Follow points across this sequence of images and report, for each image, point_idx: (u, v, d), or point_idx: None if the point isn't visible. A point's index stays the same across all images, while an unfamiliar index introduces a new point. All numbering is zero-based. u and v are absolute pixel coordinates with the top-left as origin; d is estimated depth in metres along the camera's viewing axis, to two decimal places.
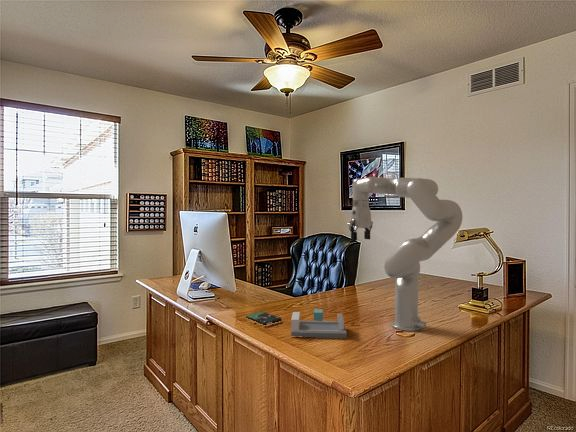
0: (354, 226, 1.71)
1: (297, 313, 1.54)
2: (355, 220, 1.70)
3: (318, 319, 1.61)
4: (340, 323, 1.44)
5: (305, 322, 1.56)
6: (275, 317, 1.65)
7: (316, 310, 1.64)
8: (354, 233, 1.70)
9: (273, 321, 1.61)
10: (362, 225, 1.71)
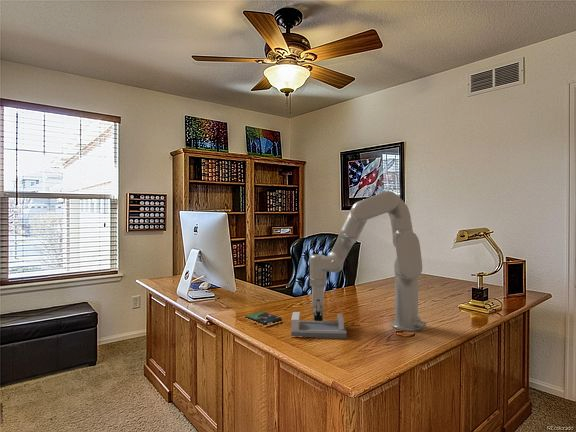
0: None
1: (297, 313, 1.54)
2: None
3: None
4: (340, 323, 1.44)
5: (305, 322, 1.56)
6: (275, 317, 1.65)
7: (316, 310, 1.64)
8: None
9: (273, 321, 1.61)
10: None
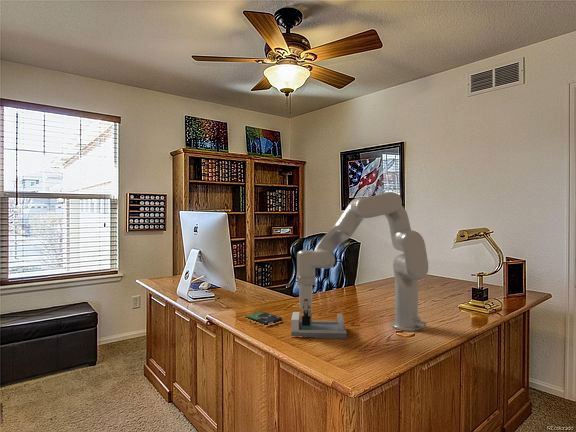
0: None
1: (297, 313, 1.54)
2: None
3: None
4: (340, 323, 1.44)
5: None
6: (276, 317, 1.65)
7: None
8: None
9: (274, 321, 1.61)
10: None
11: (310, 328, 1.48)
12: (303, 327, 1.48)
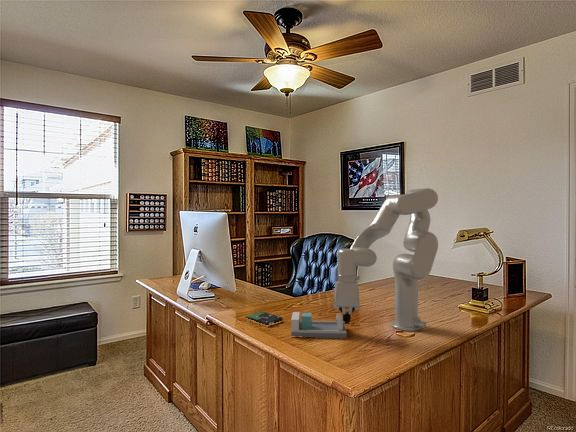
0: None
1: (297, 313, 1.54)
2: None
3: (306, 323, 1.48)
4: (339, 323, 1.45)
5: None
6: (276, 317, 1.65)
7: (304, 314, 1.51)
8: None
9: (275, 321, 1.61)
10: None
11: (310, 328, 1.48)
12: (303, 327, 1.48)
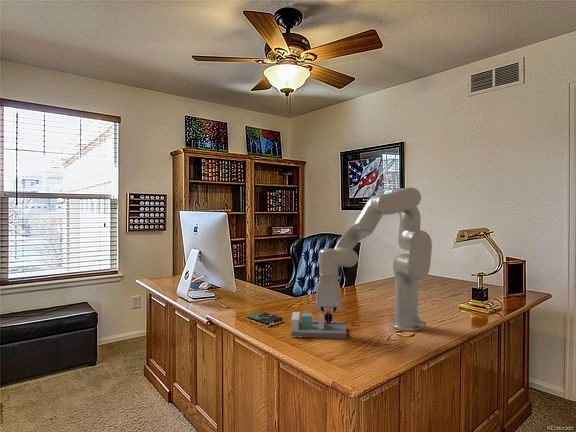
0: None
1: (297, 313, 1.54)
2: None
3: (306, 323, 1.48)
4: (320, 323, 1.45)
5: None
6: (276, 317, 1.65)
7: (304, 314, 1.51)
8: None
9: (275, 321, 1.61)
10: None
11: (310, 328, 1.48)
12: (303, 327, 1.48)
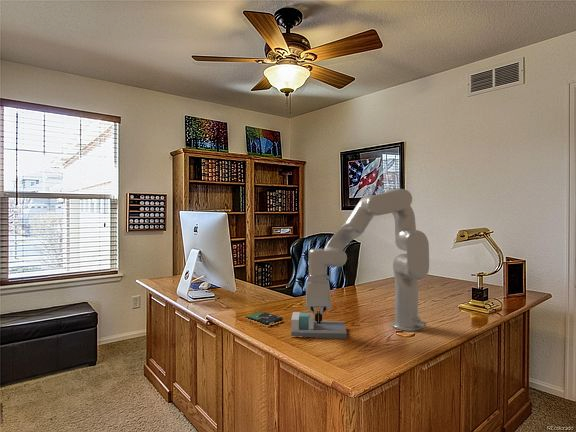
0: None
1: (297, 313, 1.54)
2: None
3: (304, 323, 1.48)
4: (310, 323, 1.45)
5: None
6: (276, 317, 1.66)
7: (302, 314, 1.51)
8: None
9: (275, 321, 1.62)
10: None
11: (307, 328, 1.48)
12: (300, 327, 1.48)
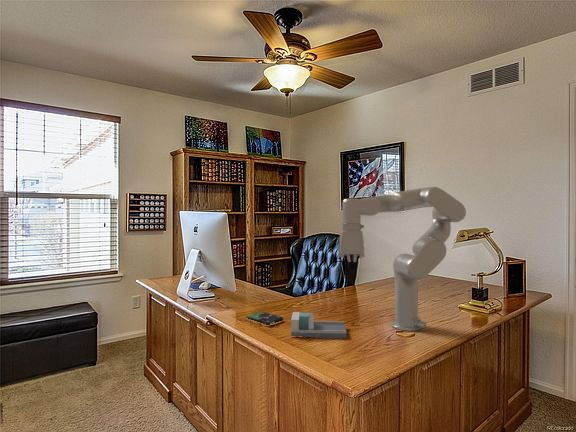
0: None
1: (297, 313, 1.54)
2: None
3: (304, 323, 1.48)
4: (310, 323, 1.45)
5: None
6: (277, 317, 1.66)
7: (302, 314, 1.51)
8: None
9: (276, 321, 1.62)
10: None
11: (307, 328, 1.48)
12: (300, 327, 1.48)
